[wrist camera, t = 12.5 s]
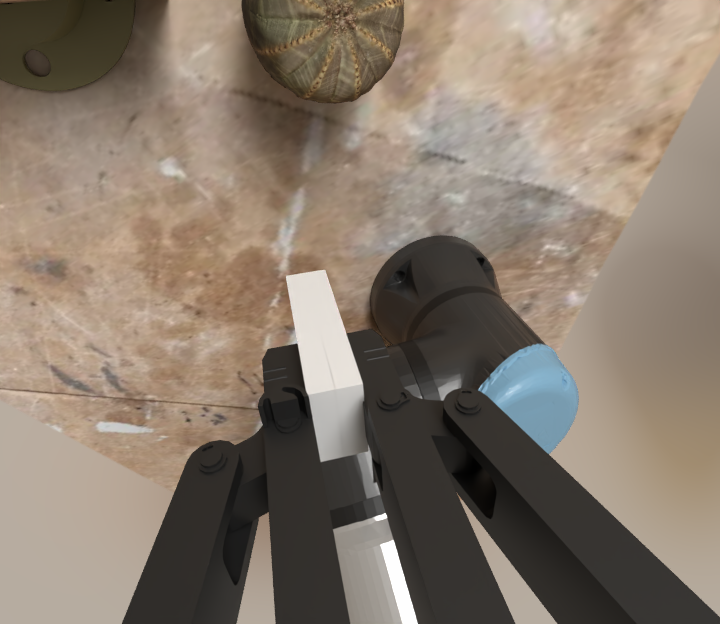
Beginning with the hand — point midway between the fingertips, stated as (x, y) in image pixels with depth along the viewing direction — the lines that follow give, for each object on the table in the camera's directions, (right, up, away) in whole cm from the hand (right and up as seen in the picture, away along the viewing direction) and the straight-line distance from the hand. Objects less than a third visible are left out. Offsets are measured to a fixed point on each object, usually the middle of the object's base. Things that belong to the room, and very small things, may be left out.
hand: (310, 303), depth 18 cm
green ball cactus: (-2, +24, +20) cm, 31 cm away
